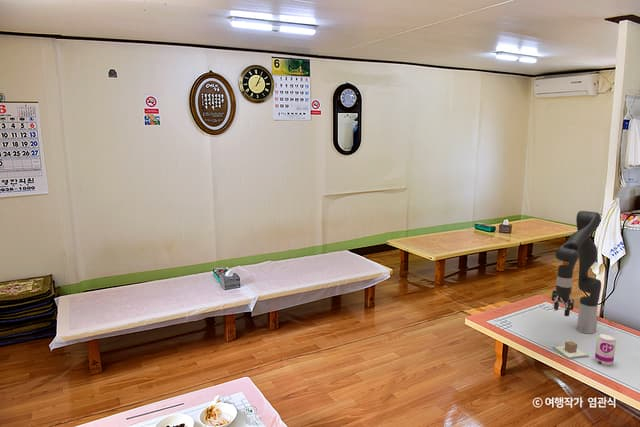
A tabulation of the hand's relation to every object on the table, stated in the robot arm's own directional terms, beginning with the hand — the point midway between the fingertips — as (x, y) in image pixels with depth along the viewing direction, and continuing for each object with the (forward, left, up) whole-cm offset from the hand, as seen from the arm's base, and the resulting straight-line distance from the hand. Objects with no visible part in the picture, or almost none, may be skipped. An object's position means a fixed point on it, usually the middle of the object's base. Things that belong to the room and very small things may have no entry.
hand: (561, 312), depth 243 cm
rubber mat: (-4, +5, -22) cm, 23 cm away
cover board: (-4, +5, -21) cm, 22 cm away
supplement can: (-14, +17, -22) cm, 31 cm away
